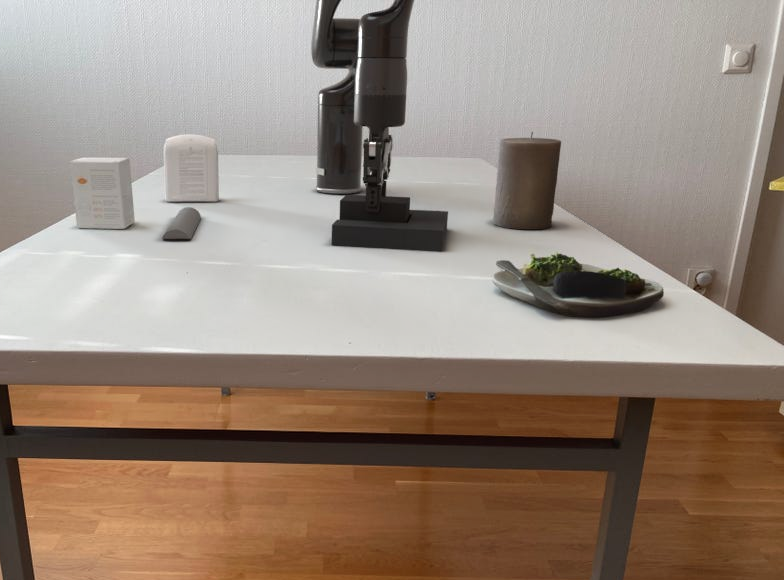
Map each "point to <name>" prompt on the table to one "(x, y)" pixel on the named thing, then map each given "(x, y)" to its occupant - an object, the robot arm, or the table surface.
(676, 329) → the table surface
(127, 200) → the small box
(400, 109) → the robot arm
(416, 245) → the slotted rectangular block
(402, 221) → the pad piece
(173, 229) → the half round rod
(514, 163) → the pillar candle
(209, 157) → the white arched block
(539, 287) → the salad plate
